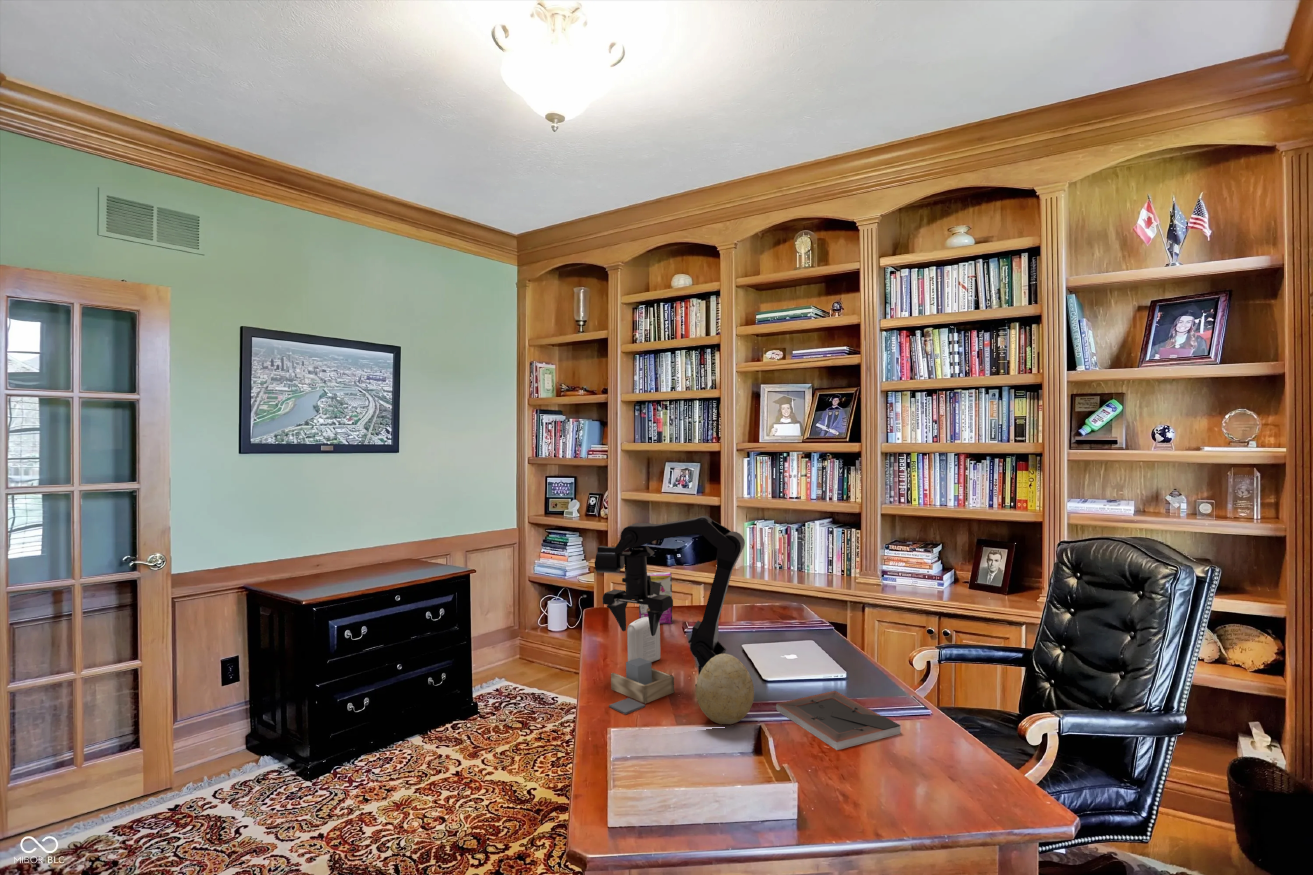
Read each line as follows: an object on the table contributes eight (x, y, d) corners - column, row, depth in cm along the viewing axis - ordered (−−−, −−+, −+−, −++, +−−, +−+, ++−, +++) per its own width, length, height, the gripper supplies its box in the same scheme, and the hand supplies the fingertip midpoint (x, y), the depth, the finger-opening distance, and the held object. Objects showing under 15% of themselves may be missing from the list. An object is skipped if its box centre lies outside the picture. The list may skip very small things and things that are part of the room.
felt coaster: (645, 706, 161) (645, 704, 161) (625, 714, 157) (625, 712, 157) (628, 699, 166) (628, 697, 166) (609, 707, 162) (609, 705, 162)
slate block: (652, 689, 172) (651, 661, 172) (638, 694, 169) (637, 666, 169) (640, 684, 175) (639, 657, 175) (626, 689, 172) (625, 662, 172)
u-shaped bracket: (674, 692, 170) (673, 676, 169) (645, 703, 163) (644, 686, 163) (640, 679, 179) (639, 663, 179) (611, 689, 173) (610, 673, 172)
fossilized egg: (687, 716, 156) (686, 650, 155) (737, 706, 160) (736, 642, 160) (712, 739, 144) (710, 668, 143) (765, 728, 148) (763, 659, 148)
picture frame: (900, 736, 144) (835, 700, 164) (900, 724, 144) (835, 689, 164) (836, 753, 138) (776, 713, 157) (836, 741, 138) (776, 702, 157)
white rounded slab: (652, 655, 197) (651, 612, 197) (663, 659, 194) (661, 615, 194) (625, 665, 190) (624, 620, 189) (635, 669, 187) (634, 623, 186)
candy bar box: (639, 625, 227) (637, 575, 227) (639, 621, 232) (638, 572, 232) (673, 624, 227) (671, 574, 227) (672, 619, 232) (671, 571, 232)
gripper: (683, 569, 179) (685, 629, 179) (625, 564, 189) (627, 620, 189) (659, 578, 170) (662, 641, 170) (599, 572, 180) (602, 631, 180)
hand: (638, 633), depth 178 cm, fingers open, 9 cm apart
